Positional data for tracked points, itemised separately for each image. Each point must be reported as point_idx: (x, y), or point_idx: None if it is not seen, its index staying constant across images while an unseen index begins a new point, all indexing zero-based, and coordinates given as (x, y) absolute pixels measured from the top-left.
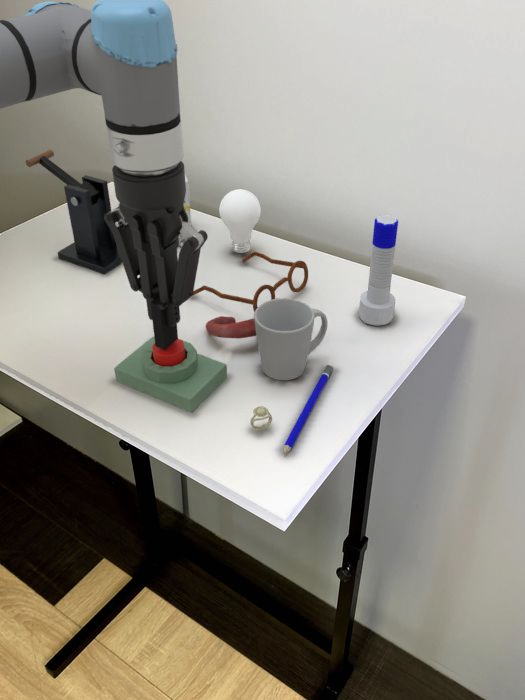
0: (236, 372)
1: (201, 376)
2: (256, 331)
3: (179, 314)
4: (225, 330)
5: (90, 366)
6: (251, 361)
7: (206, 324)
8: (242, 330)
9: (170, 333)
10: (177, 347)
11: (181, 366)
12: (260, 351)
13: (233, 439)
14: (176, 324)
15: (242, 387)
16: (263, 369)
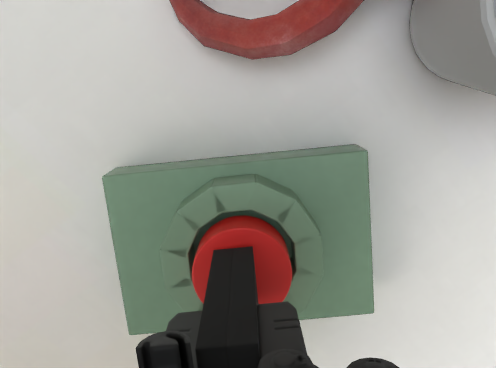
0: (363, 112)
1: (341, 231)
2: (491, 82)
3: (299, 324)
4: (292, 48)
5: (45, 310)
6: (370, 47)
7: (182, 19)
8: (346, 18)
9: (257, 300)
10: (269, 263)
11: (308, 280)
12: (469, 85)
13: (492, 300)
14: (253, 270)
15: (411, 151)
16: (440, 76)
